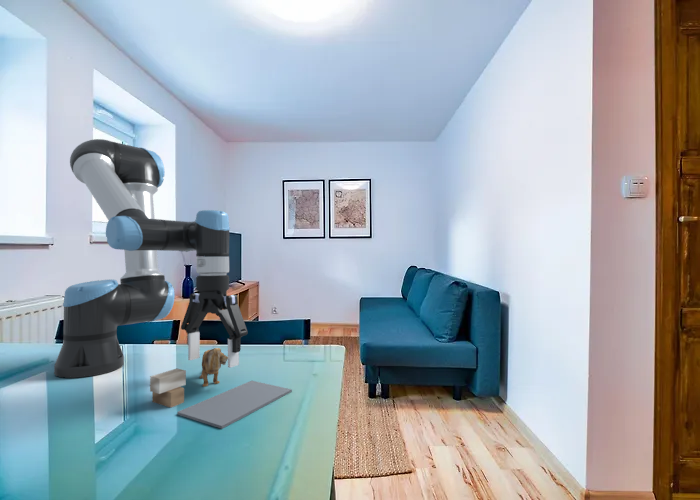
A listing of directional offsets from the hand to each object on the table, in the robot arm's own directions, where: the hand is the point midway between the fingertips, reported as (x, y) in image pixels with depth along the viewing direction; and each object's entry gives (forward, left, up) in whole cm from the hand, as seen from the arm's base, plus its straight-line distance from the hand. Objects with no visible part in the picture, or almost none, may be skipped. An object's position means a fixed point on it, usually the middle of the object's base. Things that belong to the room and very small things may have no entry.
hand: (212, 362), depth 88 cm
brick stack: (+2, -13, -5) cm, 14 cm away
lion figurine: (-1, +1, -5) cm, 5 cm away
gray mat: (+15, -6, -5) cm, 16 cm away
